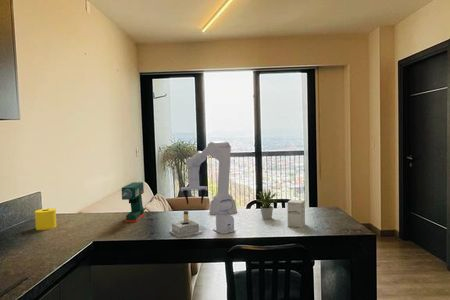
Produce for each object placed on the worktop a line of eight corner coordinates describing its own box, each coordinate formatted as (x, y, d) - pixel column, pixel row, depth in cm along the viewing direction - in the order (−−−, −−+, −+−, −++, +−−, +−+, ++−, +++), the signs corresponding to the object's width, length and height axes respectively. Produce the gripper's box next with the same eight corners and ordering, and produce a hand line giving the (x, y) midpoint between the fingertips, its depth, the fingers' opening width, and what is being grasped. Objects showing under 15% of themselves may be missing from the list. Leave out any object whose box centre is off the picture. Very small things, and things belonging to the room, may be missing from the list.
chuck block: (201, 233, 168) (201, 224, 168) (178, 237, 162) (178, 228, 162) (191, 227, 179) (191, 219, 179) (169, 231, 173) (169, 222, 173)
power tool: (130, 228, 182) (128, 190, 181) (117, 228, 182) (115, 190, 181) (145, 214, 213) (144, 182, 213) (134, 214, 214) (133, 182, 213)
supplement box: (287, 226, 176) (286, 201, 175) (291, 223, 183) (291, 199, 182) (301, 227, 173) (301, 202, 172) (305, 224, 179) (305, 199, 179)
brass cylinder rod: (189, 226, 181) (188, 211, 181) (185, 227, 180) (184, 212, 180) (187, 225, 183) (187, 210, 183) (183, 226, 182) (182, 211, 182)
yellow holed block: (47, 230, 183) (47, 212, 183) (31, 229, 185) (30, 212, 185) (60, 225, 193) (59, 208, 193) (44, 224, 195) (43, 208, 195)
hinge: (210, 214, 208) (209, 198, 211) (209, 215, 212) (208, 199, 215) (237, 213, 210) (236, 196, 213) (236, 214, 214) (235, 197, 217)
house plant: (280, 221, 185) (279, 191, 185) (254, 221, 187) (253, 191, 187) (280, 215, 199) (279, 187, 199) (256, 215, 201) (255, 187, 201)
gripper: (206, 177, 196) (207, 201, 196) (180, 178, 194) (181, 202, 195) (207, 179, 188) (208, 204, 189) (180, 180, 187) (181, 205, 188)
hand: (194, 203), depth 192 cm, fingers open, 7 cm apart
